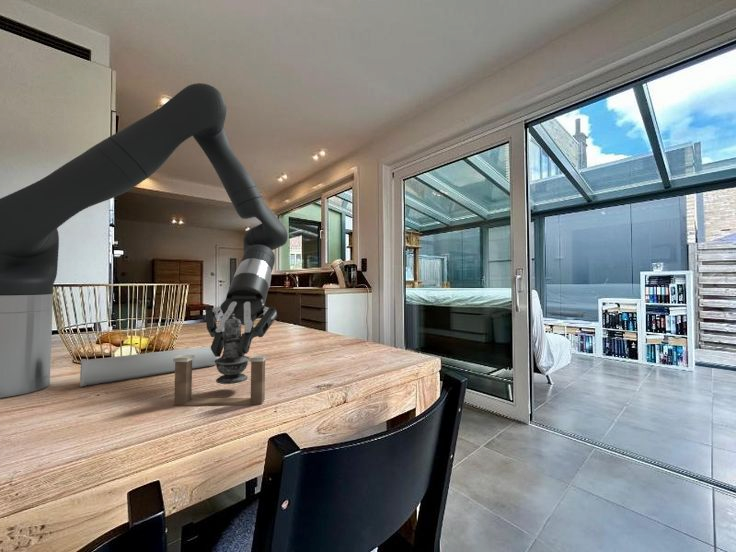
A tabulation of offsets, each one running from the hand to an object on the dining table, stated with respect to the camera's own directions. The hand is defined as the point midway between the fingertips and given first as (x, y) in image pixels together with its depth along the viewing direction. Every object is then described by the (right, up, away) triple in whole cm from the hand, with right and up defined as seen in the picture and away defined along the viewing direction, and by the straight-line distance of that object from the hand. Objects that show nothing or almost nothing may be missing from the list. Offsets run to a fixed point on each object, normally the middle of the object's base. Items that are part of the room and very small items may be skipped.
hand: (228, 353), depth 55 cm
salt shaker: (0, -5, +2) cm, 6 cm away
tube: (-21, -8, +13) cm, 26 cm away
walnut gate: (0, -7, -3) cm, 8 cm away
